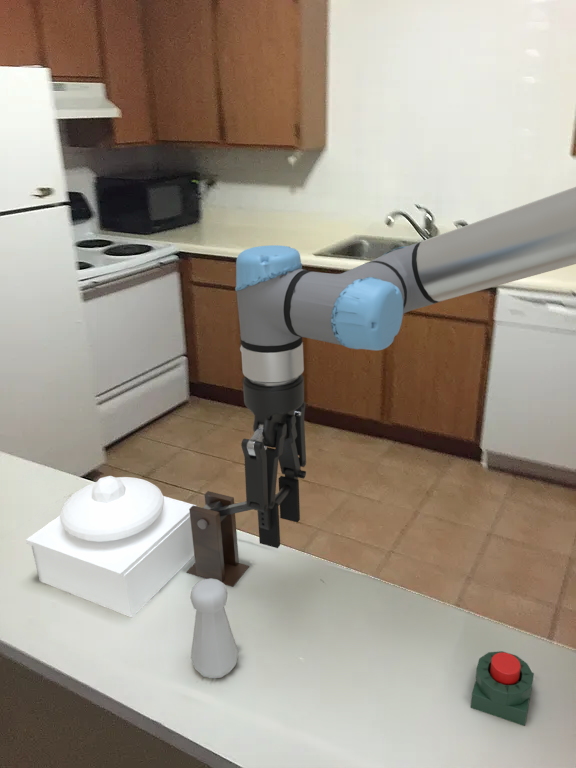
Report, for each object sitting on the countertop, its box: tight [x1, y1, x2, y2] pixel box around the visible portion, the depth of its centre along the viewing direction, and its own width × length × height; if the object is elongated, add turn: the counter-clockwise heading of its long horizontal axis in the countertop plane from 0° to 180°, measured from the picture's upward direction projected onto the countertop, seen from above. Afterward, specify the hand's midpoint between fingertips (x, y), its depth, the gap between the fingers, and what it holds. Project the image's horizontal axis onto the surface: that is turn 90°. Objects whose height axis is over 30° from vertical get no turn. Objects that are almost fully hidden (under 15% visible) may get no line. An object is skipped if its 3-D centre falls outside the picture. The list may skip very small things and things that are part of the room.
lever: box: [202, 485, 291, 522], centre depth 93 cm, size 14×6×2 cm, turn 64°
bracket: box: [186, 490, 250, 588], centre depth 97 cm, size 8×6×13 cm
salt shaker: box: [190, 578, 239, 679], centre depth 81 cm, size 6×6×13 cm
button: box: [490, 651, 521, 685], centre depth 77 cm, size 3×3×2 cm
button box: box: [470, 650, 535, 727], centre depth 78 cm, size 6×6×4 cm
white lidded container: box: [25, 475, 199, 619], centre depth 99 cm, size 18×18×16 cm
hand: (280, 530), depth 91 cm, fingers closed on lever, 5 cm apart
